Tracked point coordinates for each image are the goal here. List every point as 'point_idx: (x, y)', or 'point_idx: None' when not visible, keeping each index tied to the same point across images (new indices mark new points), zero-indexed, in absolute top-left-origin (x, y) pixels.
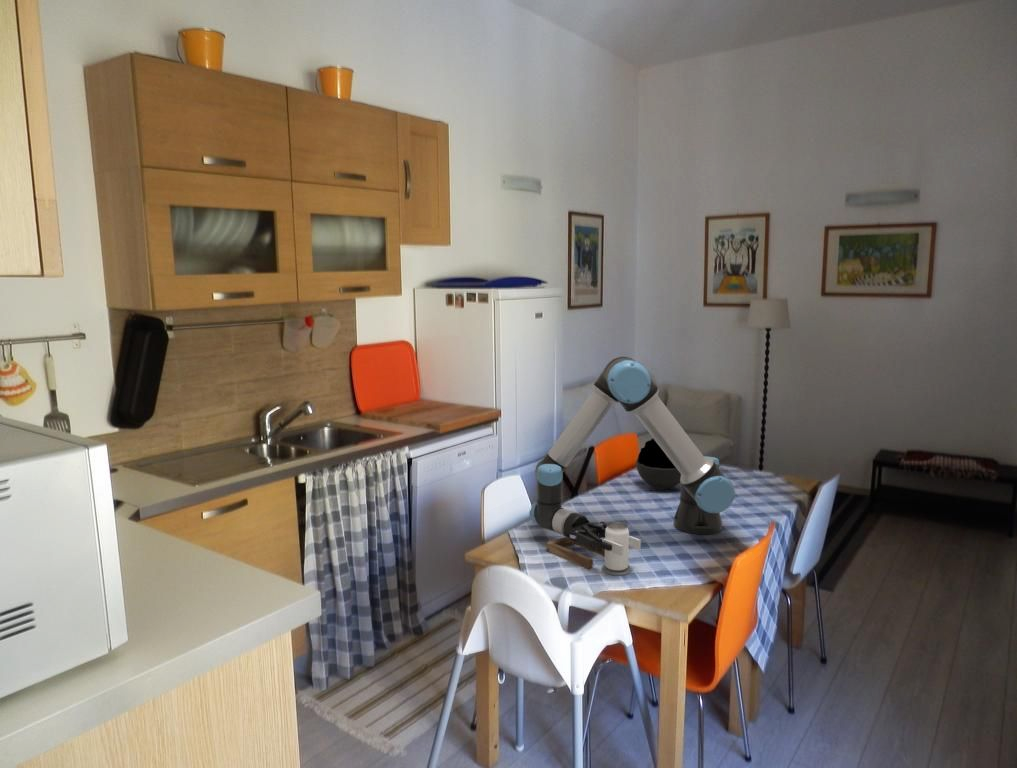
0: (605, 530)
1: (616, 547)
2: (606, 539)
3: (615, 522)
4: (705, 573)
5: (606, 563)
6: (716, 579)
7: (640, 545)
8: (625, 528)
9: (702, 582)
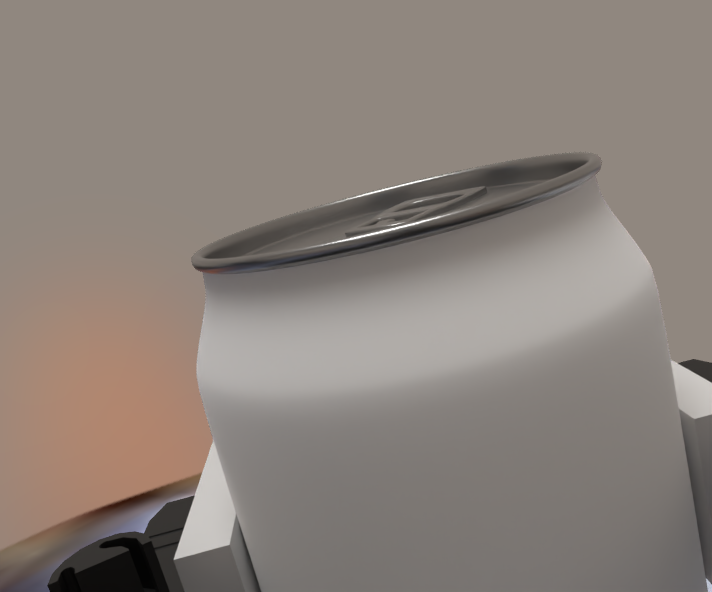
0: (646, 291)
1: None
2: (681, 403)
3: (272, 271)
4: (23, 575)
5: None
6: (79, 516)
7: None
8: (357, 211)
9: (164, 504)
